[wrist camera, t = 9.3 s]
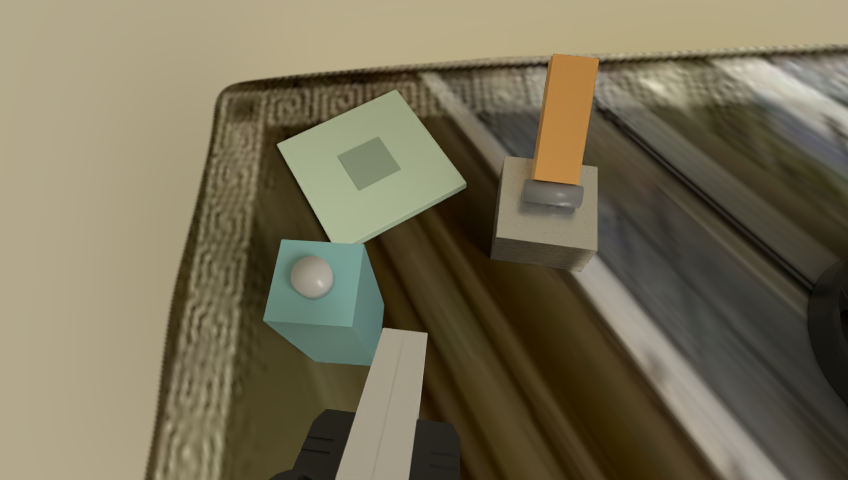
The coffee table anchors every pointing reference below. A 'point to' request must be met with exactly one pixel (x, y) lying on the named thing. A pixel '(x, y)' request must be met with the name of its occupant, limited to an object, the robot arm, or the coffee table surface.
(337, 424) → the robot arm
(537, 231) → the box
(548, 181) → the lever
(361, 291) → the teal tall block
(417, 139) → the pad
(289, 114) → the coffee table surface
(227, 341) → the coffee table surface
